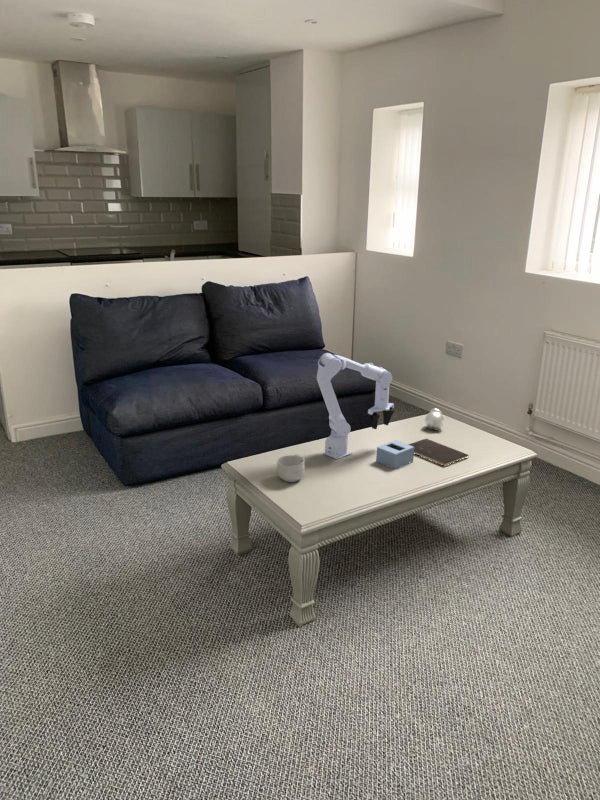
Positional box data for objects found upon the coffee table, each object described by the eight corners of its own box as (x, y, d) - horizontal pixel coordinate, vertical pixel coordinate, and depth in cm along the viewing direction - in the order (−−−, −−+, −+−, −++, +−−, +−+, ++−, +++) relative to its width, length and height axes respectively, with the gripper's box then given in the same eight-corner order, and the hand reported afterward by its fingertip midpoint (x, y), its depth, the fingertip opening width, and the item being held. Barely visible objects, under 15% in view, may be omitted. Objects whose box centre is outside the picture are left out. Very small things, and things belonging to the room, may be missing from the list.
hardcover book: (444, 468, 262) (444, 463, 261) (402, 451, 279) (402, 446, 278) (468, 459, 272) (468, 454, 271) (426, 442, 289) (427, 438, 288)
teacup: (295, 487, 242) (296, 467, 239) (271, 480, 247) (271, 461, 244) (313, 473, 253) (313, 455, 251) (289, 468, 258) (289, 449, 256)
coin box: (394, 468, 259) (395, 454, 257) (376, 461, 266) (377, 446, 264) (413, 461, 267) (414, 446, 265) (394, 454, 274) (395, 440, 272)
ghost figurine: (447, 428, 305) (449, 408, 302) (437, 433, 298) (439, 413, 295) (431, 424, 311) (432, 404, 308) (420, 428, 304) (422, 409, 301)
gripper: (377, 402, 265) (375, 432, 269) (400, 395, 274) (398, 425, 278) (365, 398, 270) (363, 428, 274) (387, 391, 279) (385, 421, 283)
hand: (380, 426), depth 276 cm, fingers open, 7 cm apart
